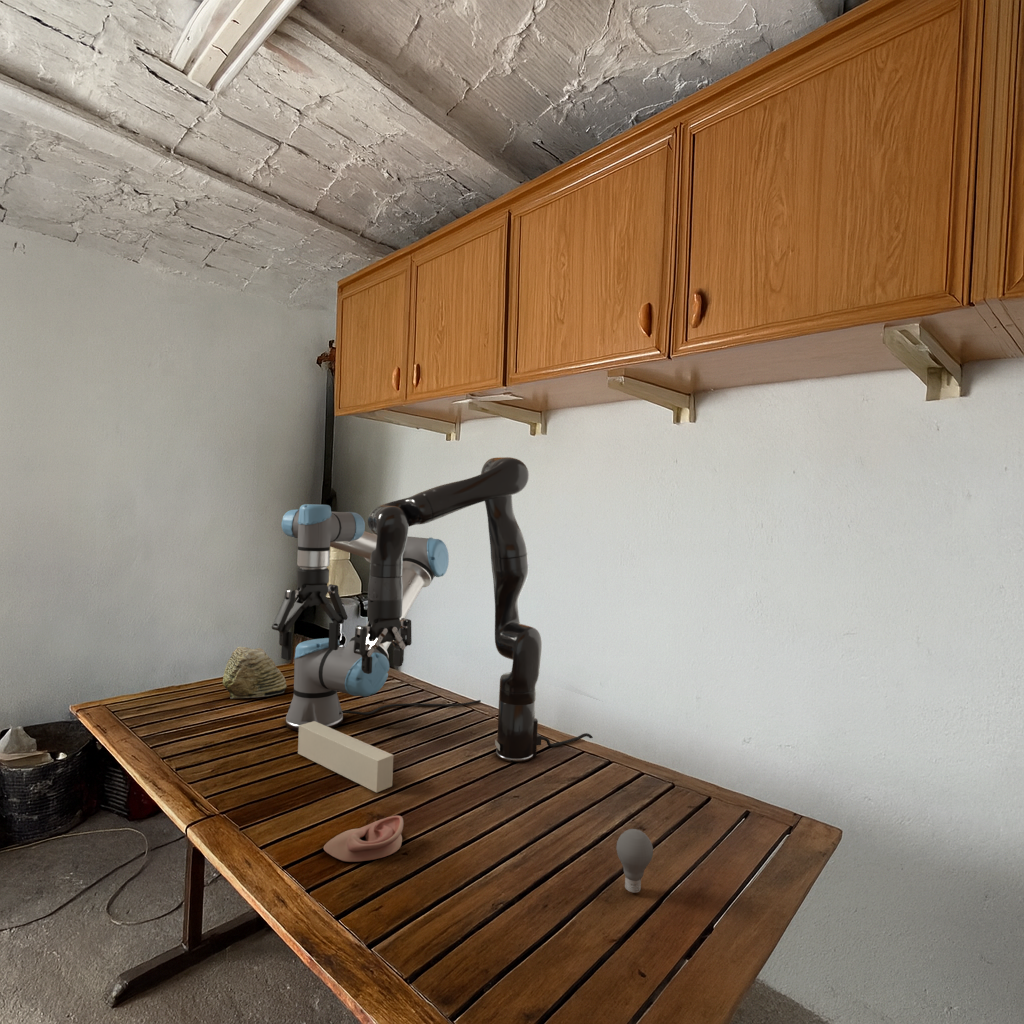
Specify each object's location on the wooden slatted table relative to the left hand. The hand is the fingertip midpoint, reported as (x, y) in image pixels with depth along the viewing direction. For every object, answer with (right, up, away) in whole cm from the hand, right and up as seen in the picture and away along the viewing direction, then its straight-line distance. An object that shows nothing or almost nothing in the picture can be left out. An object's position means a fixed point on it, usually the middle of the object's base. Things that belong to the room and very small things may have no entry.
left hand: (310, 654), depth 155 cm
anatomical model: (+22, -26, -39) cm, 52 cm away
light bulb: (+70, -29, -49) cm, 90 cm away
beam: (+10, -25, -7) cm, 28 cm away
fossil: (-31, -23, +43) cm, 58 cm away
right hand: (+21, 0, -15) cm, 26 cm away
